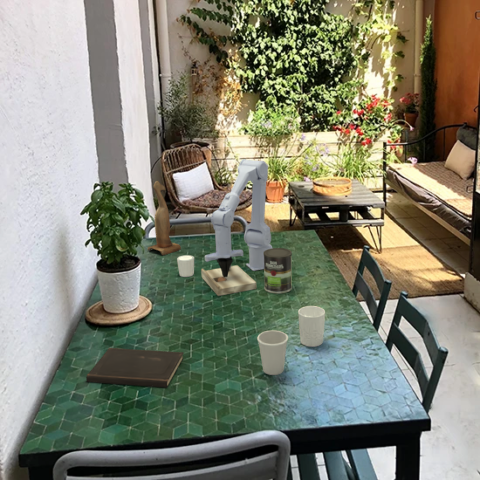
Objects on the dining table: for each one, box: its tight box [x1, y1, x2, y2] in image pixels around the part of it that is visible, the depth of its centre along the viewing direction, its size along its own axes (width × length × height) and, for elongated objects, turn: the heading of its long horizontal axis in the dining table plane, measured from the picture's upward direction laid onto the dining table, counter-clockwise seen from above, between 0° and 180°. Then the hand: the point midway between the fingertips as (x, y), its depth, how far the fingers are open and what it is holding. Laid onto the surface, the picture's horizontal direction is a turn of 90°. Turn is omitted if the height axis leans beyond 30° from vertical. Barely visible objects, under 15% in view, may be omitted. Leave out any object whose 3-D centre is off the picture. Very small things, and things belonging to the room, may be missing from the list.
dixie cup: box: [256, 330, 289, 376], centre depth 160 cm, size 8×8×10 cm
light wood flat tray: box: [200, 264, 257, 297], centre depth 222 cm, size 15×20×4 cm
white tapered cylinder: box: [176, 254, 195, 278], centre depth 232 cm, size 7×7×7 cm
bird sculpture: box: [147, 180, 182, 256], centre depth 258 cm, size 11×12×32 cm
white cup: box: [297, 305, 326, 348], centre depth 174 cm, size 8×8×10 cm
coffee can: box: [263, 247, 293, 294], centre depth 214 cm, size 10×10×14 cm
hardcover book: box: [86, 347, 184, 389], centre depth 164 cm, size 16×23×2 cm
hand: (225, 276), depth 220 cm, fingers closed
